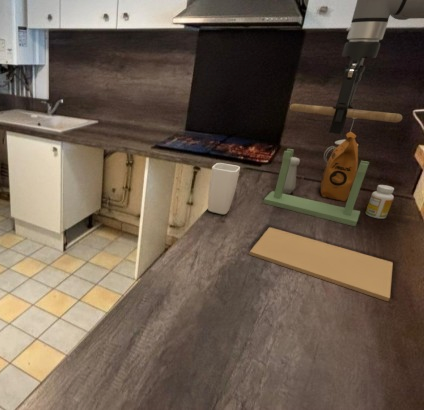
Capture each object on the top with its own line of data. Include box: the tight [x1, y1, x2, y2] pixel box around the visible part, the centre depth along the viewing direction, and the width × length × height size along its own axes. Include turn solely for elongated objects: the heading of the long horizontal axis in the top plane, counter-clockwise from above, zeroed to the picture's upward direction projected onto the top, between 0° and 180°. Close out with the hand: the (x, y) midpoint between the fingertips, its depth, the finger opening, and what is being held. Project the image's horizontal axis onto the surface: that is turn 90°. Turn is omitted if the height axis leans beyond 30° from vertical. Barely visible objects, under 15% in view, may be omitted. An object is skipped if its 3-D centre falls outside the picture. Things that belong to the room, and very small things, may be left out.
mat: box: [248, 226, 394, 303], centre depth 89 cm, size 28×18×1 cm, turn 50°
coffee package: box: [320, 131, 359, 202], centre depth 125 cm, size 10×12×22 cm
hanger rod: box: [289, 103, 403, 123], centre depth 99 cm, size 26×2×2 cm, turn 49°
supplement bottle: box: [365, 184, 395, 220], centre depth 112 cm, size 5×5×10 cm
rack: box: [262, 148, 370, 227], centre depth 114 cm, size 26×10×18 cm, turn 50°
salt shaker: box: [283, 156, 301, 195], centre depth 129 cm, size 6×6×13 cm
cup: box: [207, 162, 241, 216], centre depth 112 cm, size 7×7×15 cm
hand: (335, 132), depth 101 cm, fingers closed on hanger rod, 2 cm apart
